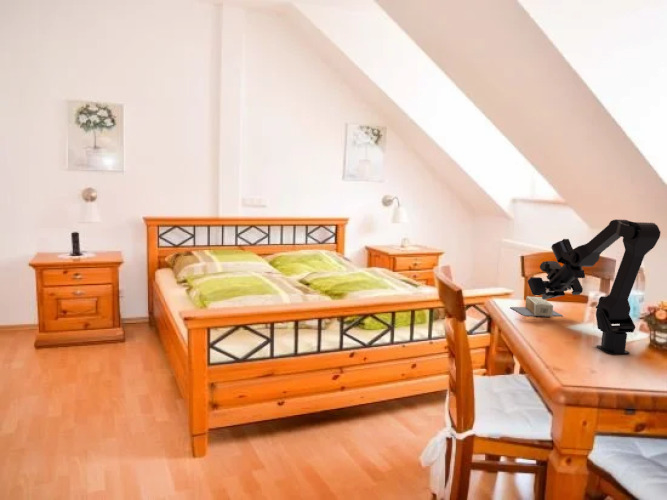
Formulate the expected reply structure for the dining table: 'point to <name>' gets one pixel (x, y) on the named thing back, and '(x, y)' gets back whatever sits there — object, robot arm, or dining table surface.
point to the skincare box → (539, 306)
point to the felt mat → (527, 312)
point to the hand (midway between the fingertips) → (543, 298)
